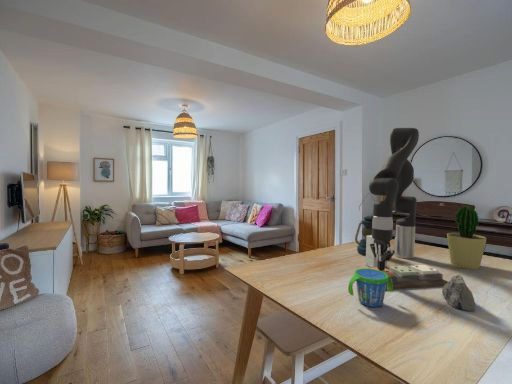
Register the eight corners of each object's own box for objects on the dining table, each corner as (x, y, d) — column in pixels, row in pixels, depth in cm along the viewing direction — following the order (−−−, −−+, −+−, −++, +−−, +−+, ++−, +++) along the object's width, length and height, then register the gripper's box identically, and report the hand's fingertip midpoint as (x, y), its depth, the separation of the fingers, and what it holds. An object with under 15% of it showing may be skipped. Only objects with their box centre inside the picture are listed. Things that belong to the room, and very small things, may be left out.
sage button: (389, 271, 112) (389, 266, 112) (403, 270, 113) (404, 265, 113) (400, 277, 105) (401, 271, 105) (416, 276, 106) (416, 271, 106)
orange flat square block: (367, 272, 110) (367, 267, 110) (382, 271, 111) (383, 266, 111) (378, 278, 103) (378, 273, 103) (394, 277, 104) (394, 272, 104)
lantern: (382, 253, 151) (384, 192, 150) (380, 258, 141) (382, 193, 140) (356, 249, 159) (358, 191, 157) (352, 254, 149) (354, 192, 147)
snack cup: (355, 311, 83) (356, 279, 83) (341, 296, 94) (342, 268, 93) (402, 309, 85) (403, 278, 84) (383, 295, 95) (383, 267, 95)
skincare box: (373, 269, 124) (374, 237, 123) (364, 265, 130) (365, 235, 129) (387, 267, 126) (388, 236, 126) (378, 263, 132) (379, 234, 131)
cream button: (410, 270, 114) (410, 265, 113) (424, 269, 115) (424, 264, 115) (423, 276, 107) (423, 270, 107) (438, 275, 108) (438, 269, 108)
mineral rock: (444, 292, 98) (445, 266, 98) (482, 302, 90) (483, 273, 90) (433, 302, 90) (434, 273, 90) (473, 315, 82) (475, 283, 81)
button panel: (359, 276, 113) (359, 268, 113) (420, 273, 119) (421, 264, 118) (380, 290, 100) (380, 280, 100) (448, 285, 105) (448, 276, 105)
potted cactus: (470, 261, 137) (472, 204, 136) (494, 271, 122) (497, 207, 121) (439, 260, 139) (441, 203, 138) (458, 269, 124) (461, 206, 122)
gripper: (402, 230, 101) (400, 275, 101) (380, 224, 114) (379, 264, 114) (384, 230, 99) (383, 275, 100) (364, 224, 112) (363, 265, 113)
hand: (381, 269), depth 107 cm, fingers closed
